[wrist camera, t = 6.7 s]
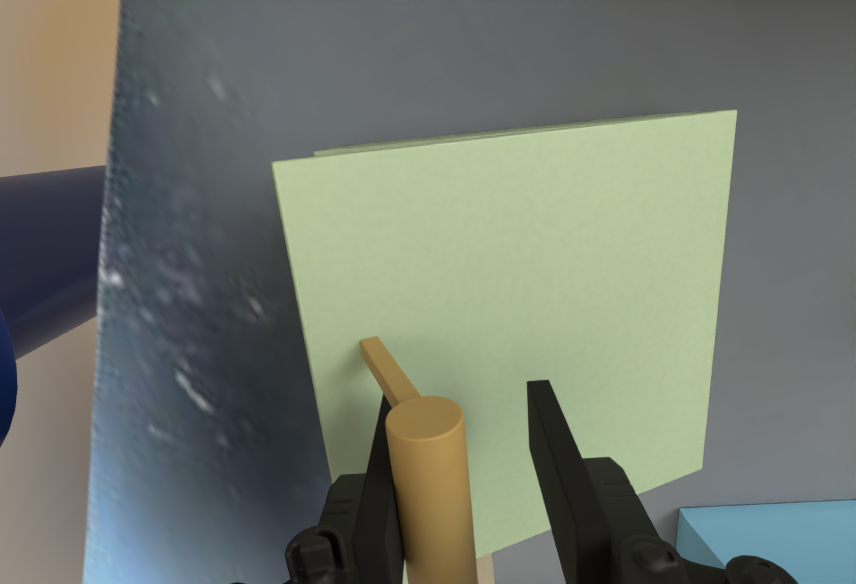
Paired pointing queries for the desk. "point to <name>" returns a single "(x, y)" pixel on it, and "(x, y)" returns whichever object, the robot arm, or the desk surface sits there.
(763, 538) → the planter
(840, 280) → the desk surface
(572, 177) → the lid
